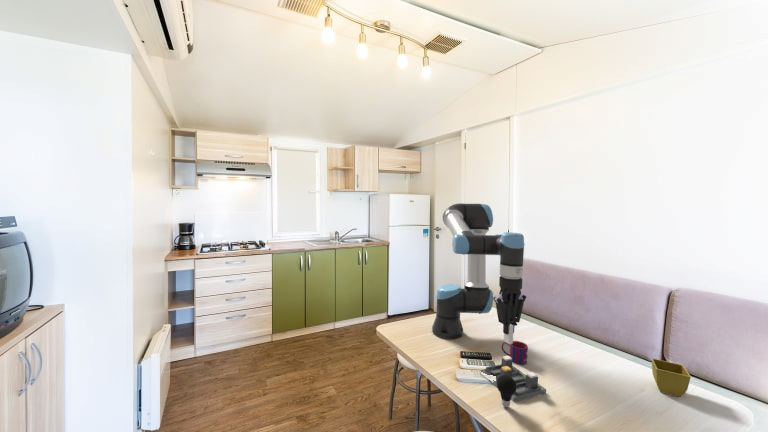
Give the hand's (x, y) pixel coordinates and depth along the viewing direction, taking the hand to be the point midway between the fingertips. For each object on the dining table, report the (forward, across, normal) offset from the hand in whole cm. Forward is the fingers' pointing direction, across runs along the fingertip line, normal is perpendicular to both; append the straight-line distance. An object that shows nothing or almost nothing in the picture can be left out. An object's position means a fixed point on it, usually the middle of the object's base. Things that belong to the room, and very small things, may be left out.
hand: (508, 342), depth 109 cm
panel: (+15, +2, 0) cm, 16 cm away
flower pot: (+16, +51, -22) cm, 58 cm away
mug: (+16, +16, +13) cm, 26 cm away
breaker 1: (+14, +6, +6) cm, 16 cm away
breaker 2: (+14, +5, -6) cm, 16 cm away
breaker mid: (+14, 0, 0) cm, 14 cm away
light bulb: (+16, -9, -10) cm, 20 cm away
